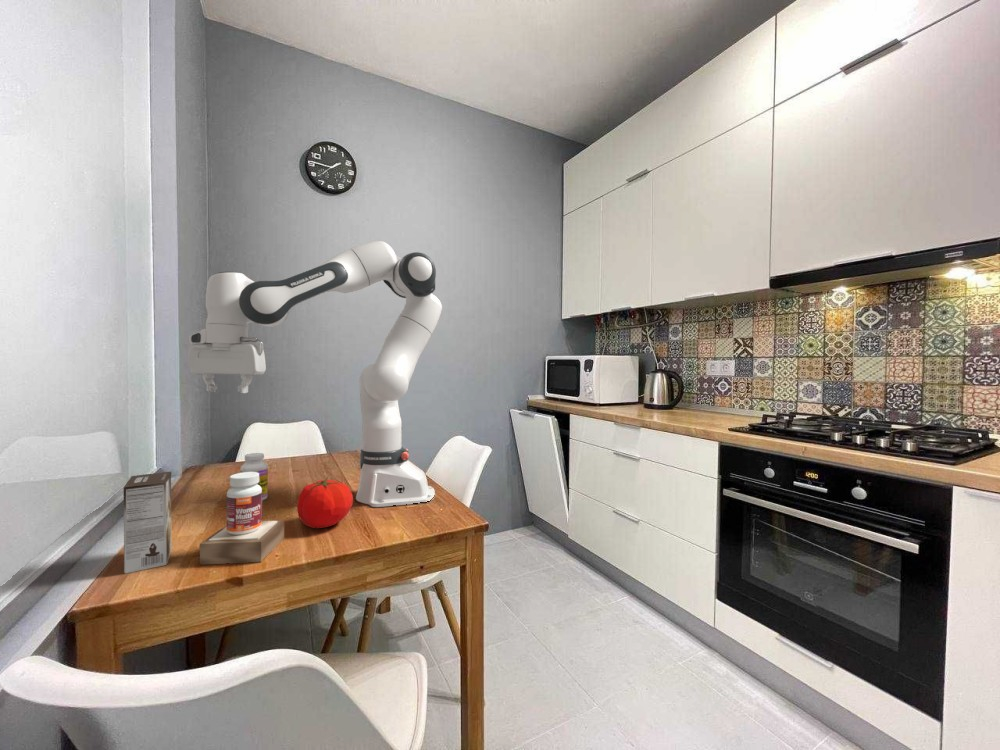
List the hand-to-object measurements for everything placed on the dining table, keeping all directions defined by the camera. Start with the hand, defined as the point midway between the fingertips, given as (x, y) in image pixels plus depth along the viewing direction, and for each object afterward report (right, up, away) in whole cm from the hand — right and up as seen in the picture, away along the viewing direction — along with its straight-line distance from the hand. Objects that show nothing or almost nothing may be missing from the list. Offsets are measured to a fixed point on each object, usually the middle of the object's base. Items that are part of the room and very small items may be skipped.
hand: (227, 392), depth 102 cm
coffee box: (0, -32, -23) cm, 39 cm away
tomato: (+26, -32, -4) cm, 42 cm away
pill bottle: (+16, -28, -18) cm, 37 cm away
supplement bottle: (-1, -31, +13) cm, 34 cm away
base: (+16, -32, -18) cm, 40 cm away
